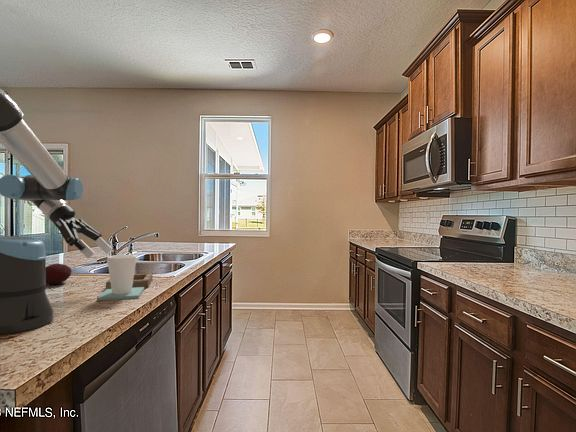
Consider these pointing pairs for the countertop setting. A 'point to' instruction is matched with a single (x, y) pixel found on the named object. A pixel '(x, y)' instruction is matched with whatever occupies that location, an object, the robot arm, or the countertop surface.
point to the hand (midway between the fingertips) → (101, 253)
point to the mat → (109, 295)
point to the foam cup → (121, 273)
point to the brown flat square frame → (137, 280)
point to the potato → (57, 273)
